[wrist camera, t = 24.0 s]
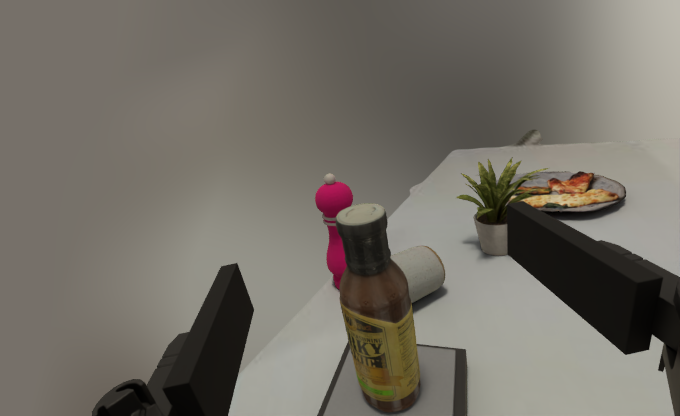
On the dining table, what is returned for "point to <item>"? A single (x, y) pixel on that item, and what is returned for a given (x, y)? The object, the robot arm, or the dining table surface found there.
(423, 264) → the ceramic mug
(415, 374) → the sauce bottle
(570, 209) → the food plate
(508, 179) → the house plant
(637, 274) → the robot arm
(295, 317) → the dining table surface
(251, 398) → the dining table surface
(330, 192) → the pepper mill
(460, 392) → the scale
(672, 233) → the dining table surface
